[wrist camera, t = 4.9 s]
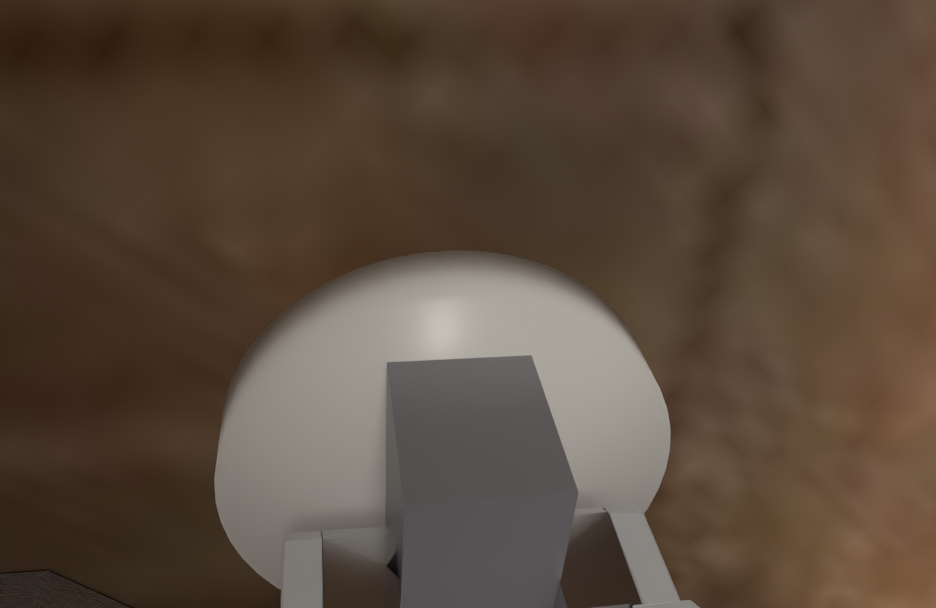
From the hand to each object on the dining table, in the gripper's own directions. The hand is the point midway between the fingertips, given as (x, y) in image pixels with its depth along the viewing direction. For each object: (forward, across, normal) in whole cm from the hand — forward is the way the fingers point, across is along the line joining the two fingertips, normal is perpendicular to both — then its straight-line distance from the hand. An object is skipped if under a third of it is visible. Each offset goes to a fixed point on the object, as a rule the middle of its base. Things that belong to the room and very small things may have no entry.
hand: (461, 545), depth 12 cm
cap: (+2, 0, 0) cm, 2 cm away
